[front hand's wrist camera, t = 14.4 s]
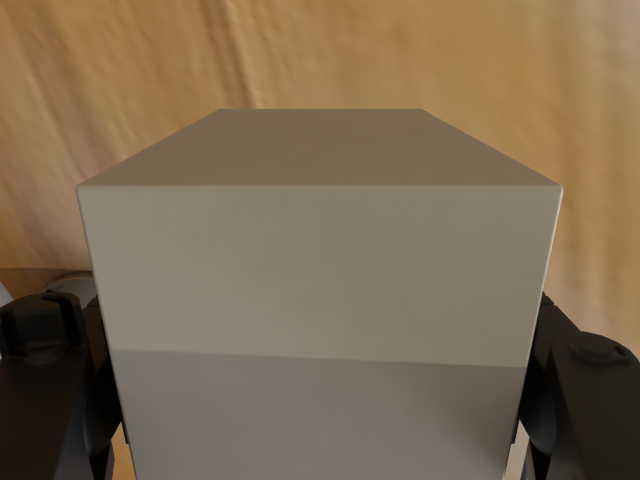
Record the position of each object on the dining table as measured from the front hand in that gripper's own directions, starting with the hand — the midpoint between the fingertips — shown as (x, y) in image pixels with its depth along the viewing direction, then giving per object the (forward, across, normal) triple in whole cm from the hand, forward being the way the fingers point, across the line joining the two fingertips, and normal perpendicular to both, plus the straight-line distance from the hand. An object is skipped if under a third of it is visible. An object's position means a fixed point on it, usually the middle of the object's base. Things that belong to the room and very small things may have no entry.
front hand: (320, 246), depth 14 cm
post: (+1, 0, -37) cm, 37 cm away
